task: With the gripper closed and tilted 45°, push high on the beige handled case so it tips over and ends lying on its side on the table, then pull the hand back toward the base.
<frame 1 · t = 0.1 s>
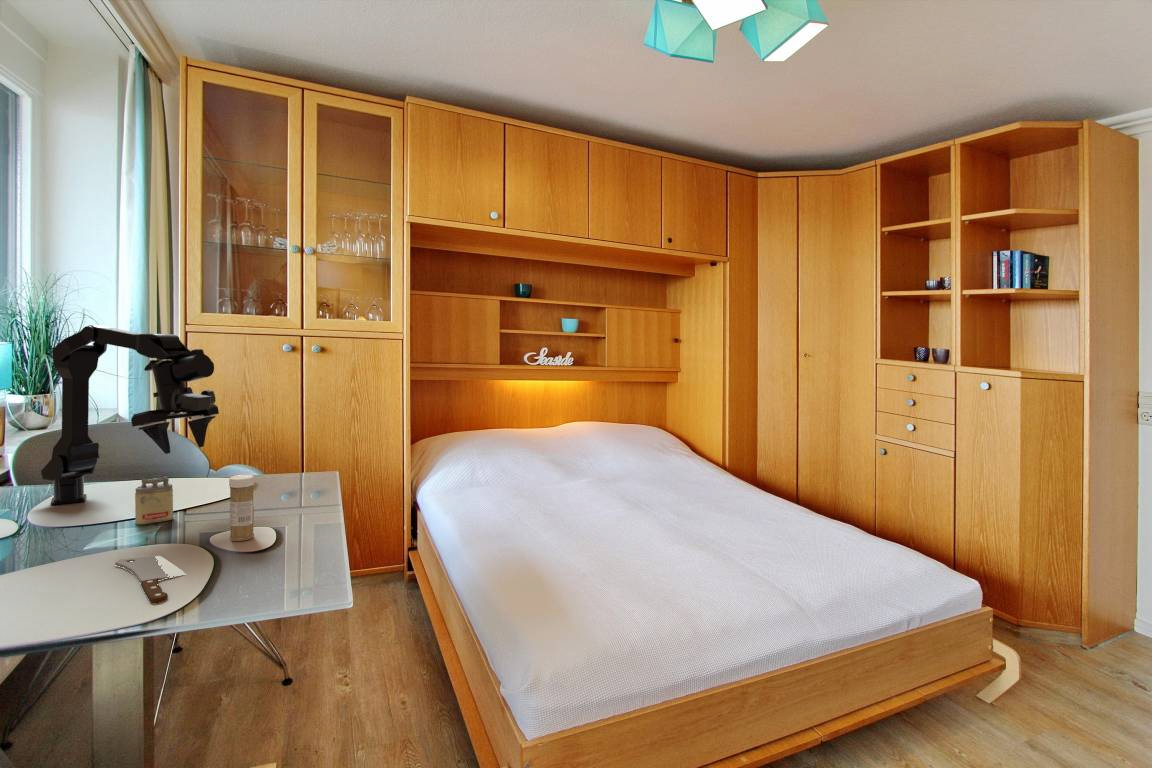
hand: (185, 450, 137), 15 cm above the table, tool pointing down, fingers open, 9 cm apart
kitchen cleaver: (158, 579, 102), on the table
beige handled case: (154, 521, 132), on the table
sprinkles bottle: (241, 539, 123), on the table
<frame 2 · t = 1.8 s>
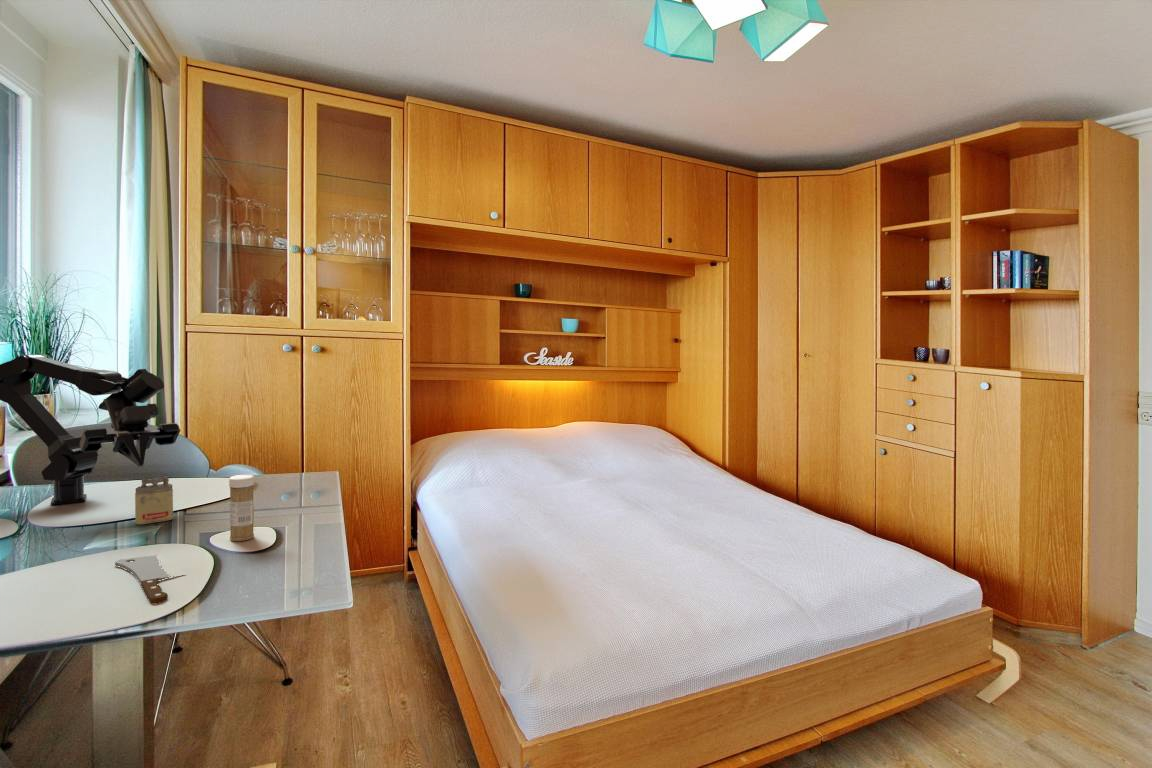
hand: (141, 465, 136), 12 cm above the table, tool tilted 45°, fingers closed
nothing on the table moved.
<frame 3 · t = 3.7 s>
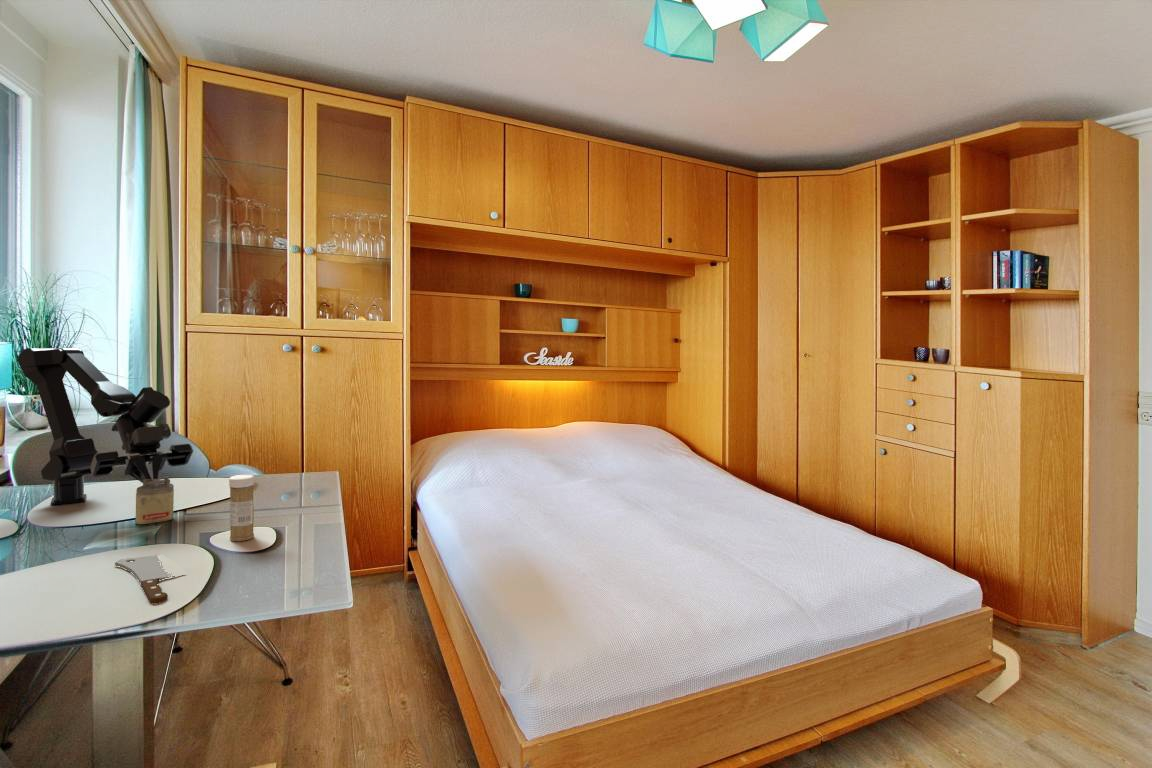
hand: (154, 488, 132), 7 cm above the table, tool tilted 45°, fingers closed
beige handled case: (154, 520, 132), on the table, touching gripper
everything else where it was.
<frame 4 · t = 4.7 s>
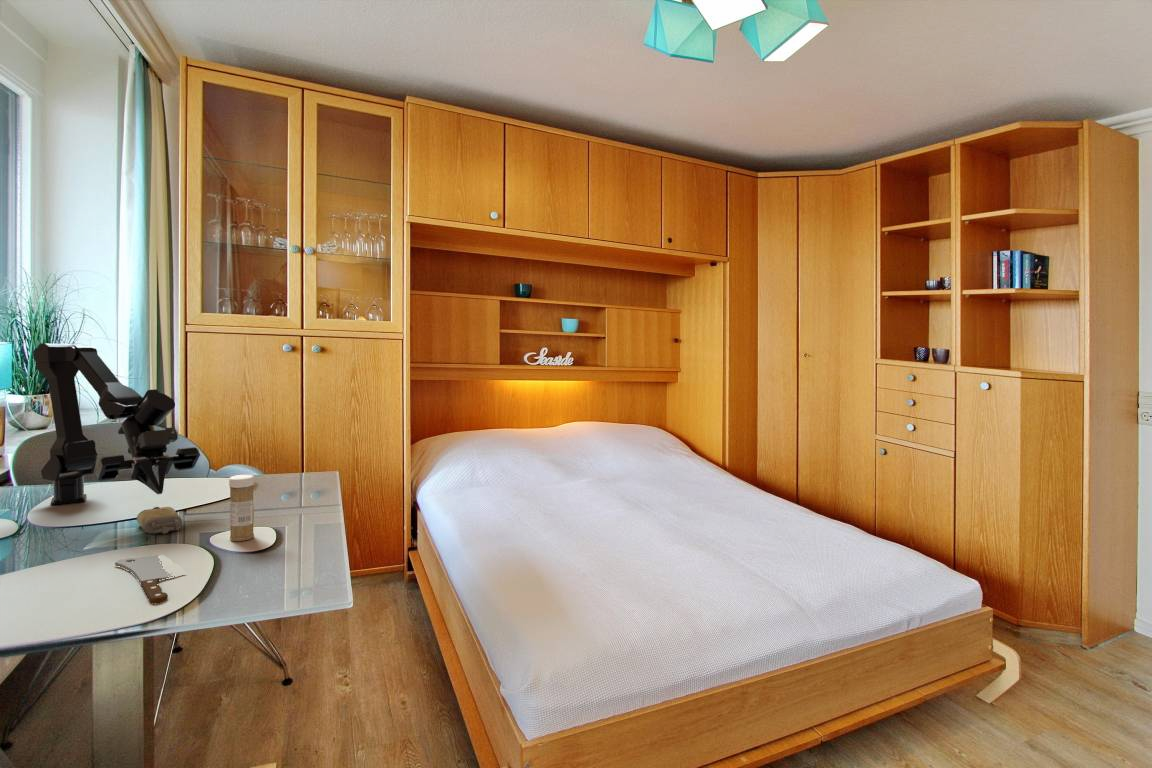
hand: (160, 493, 129), 7 cm above the table, tool tilted 45°, fingers closed
beige handled case: (156, 514, 130), point 2 cm above the table
everything else where it was.
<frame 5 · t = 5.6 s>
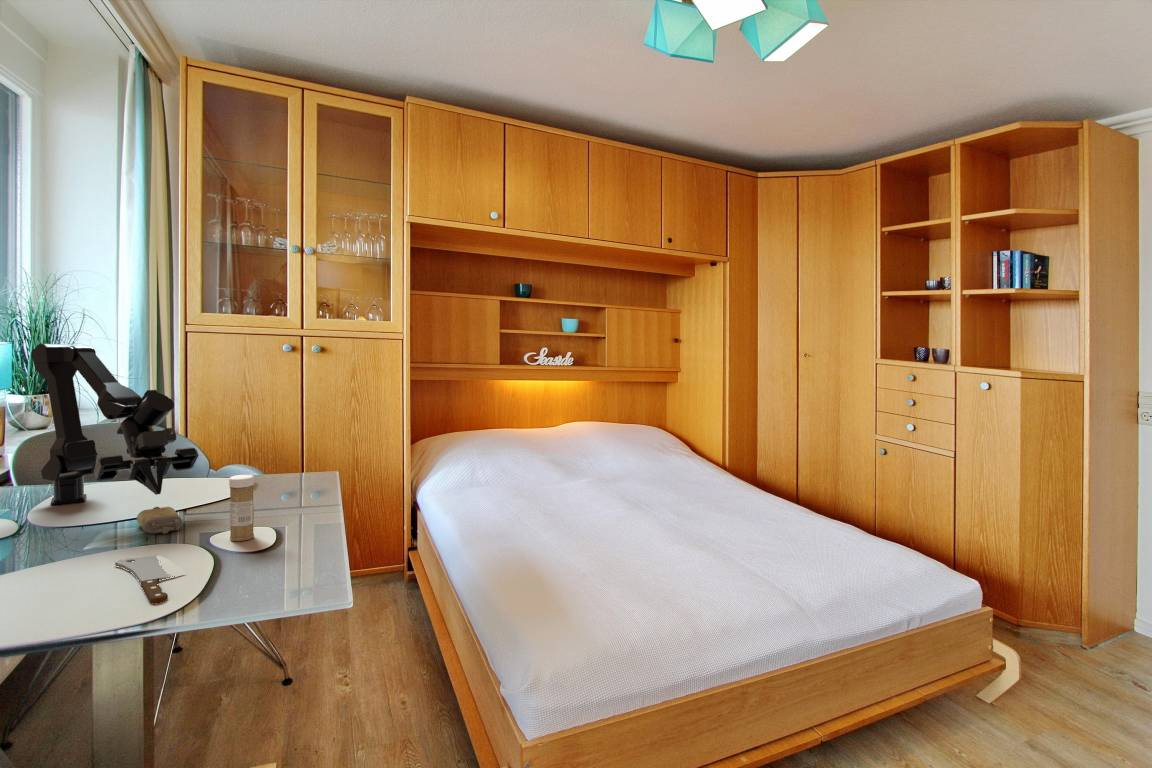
hand: (158, 493, 129), 7 cm above the table, tool tilted 45°, fingers closed
nothing on the table moved.
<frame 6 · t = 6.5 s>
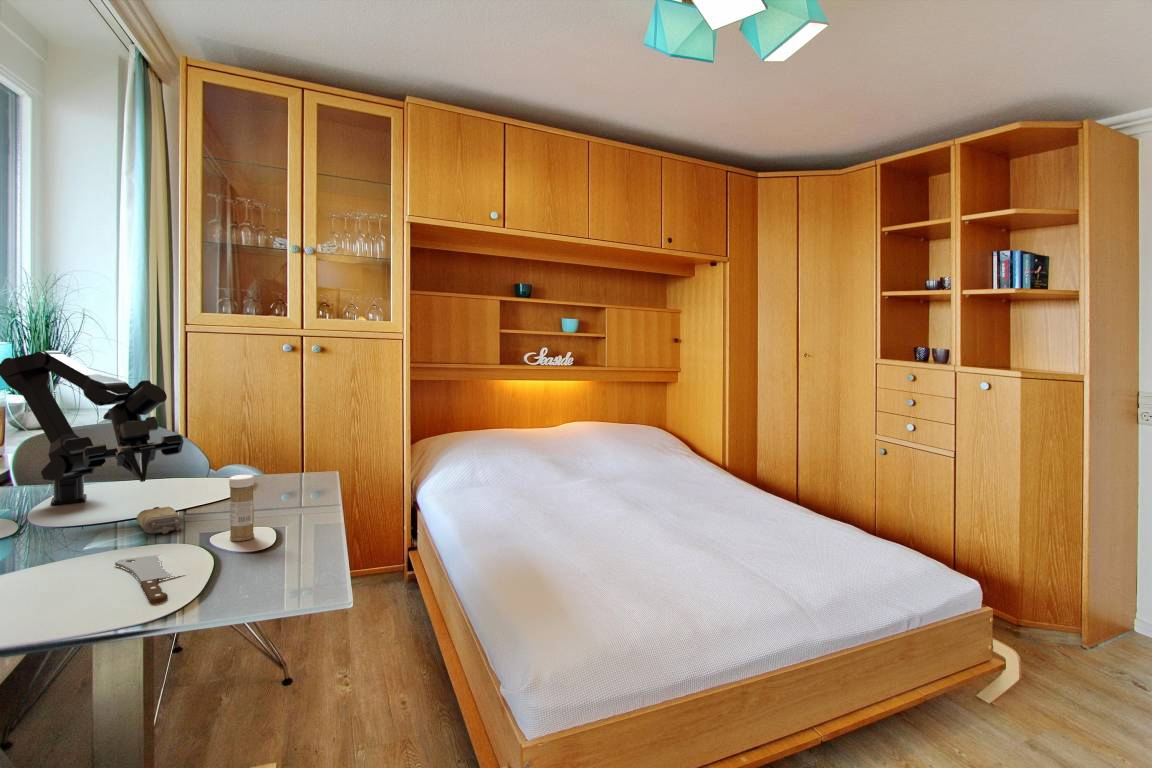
hand: (143, 480, 134), 8 cm above the table, tool tilted 40°, fingers closed
nothing on the table moved.
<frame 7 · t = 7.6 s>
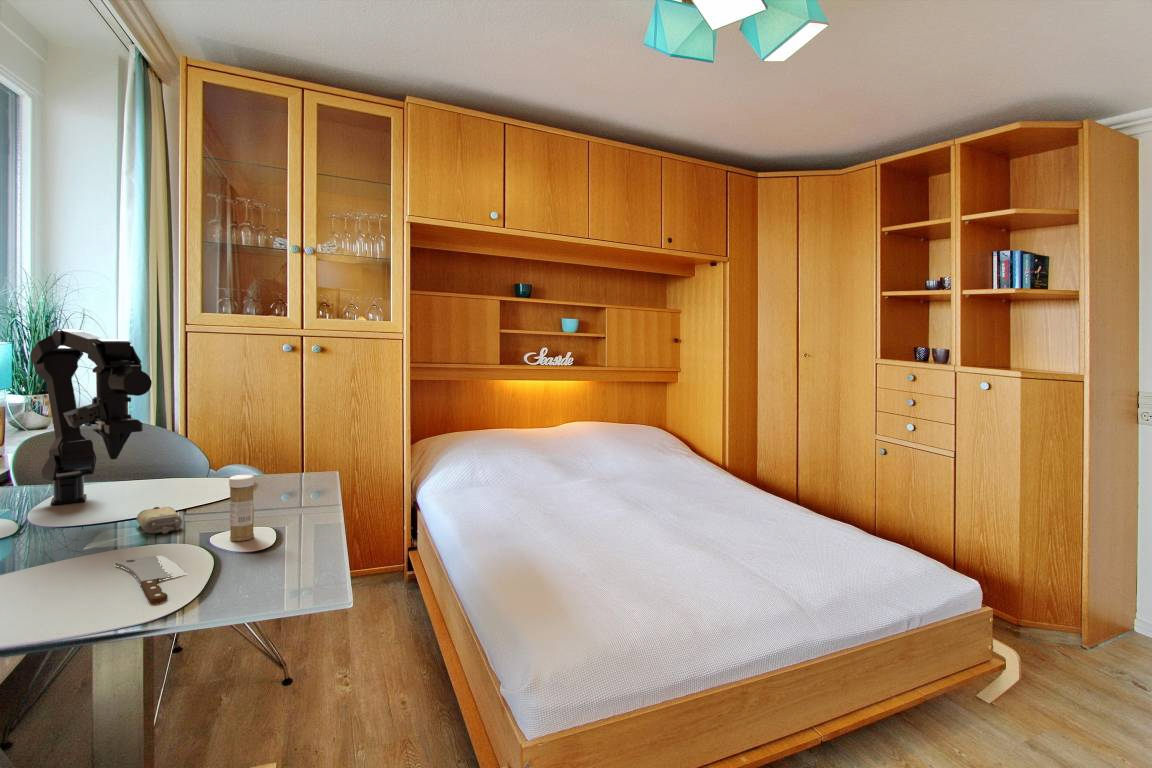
hand: (113, 459, 135), 13 cm above the table, tool pointing down, fingers closed
nothing on the table moved.
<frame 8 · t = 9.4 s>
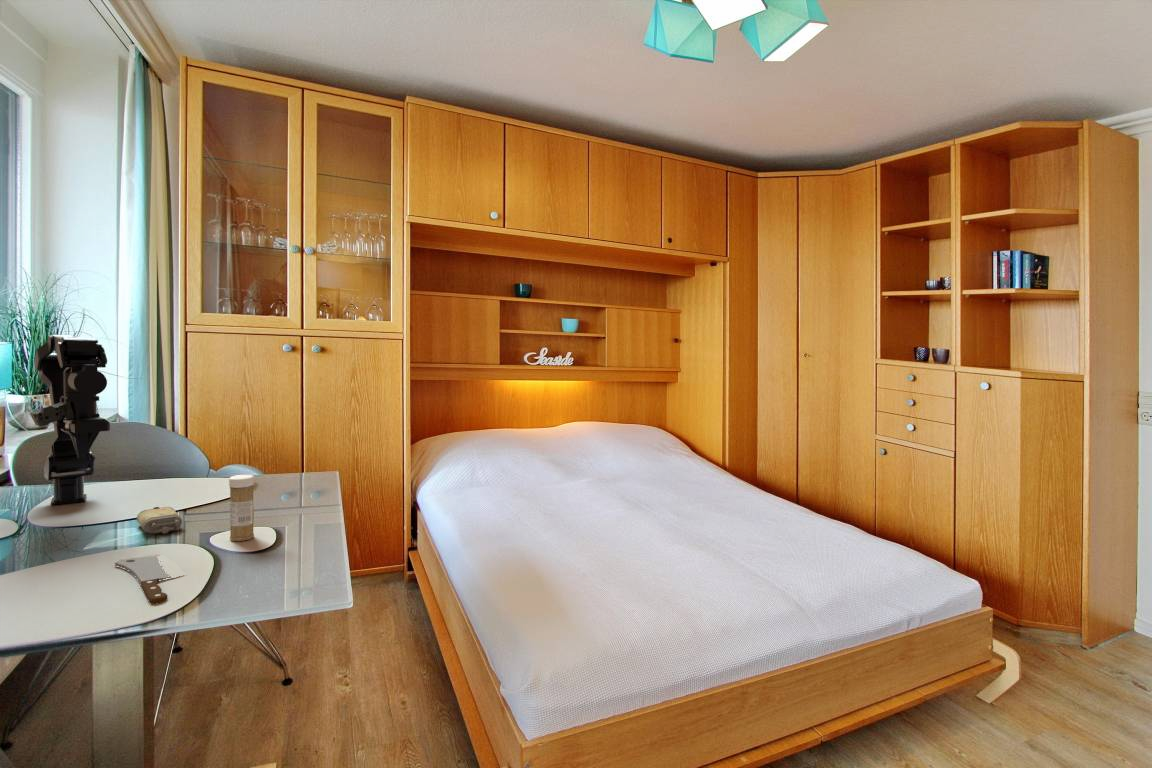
hand: (81, 458, 134), 13 cm above the table, tool pointing down, fingers closed
nothing on the table moved.
at the end: beige handled case tilted 91°; beige handled case moved 2.7 cm from its start; the gripper is holding nothing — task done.
